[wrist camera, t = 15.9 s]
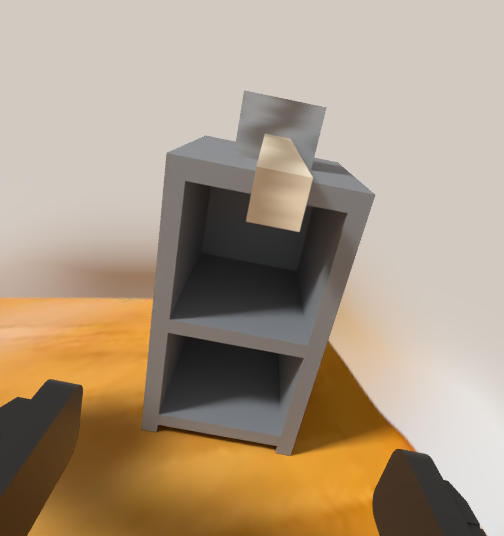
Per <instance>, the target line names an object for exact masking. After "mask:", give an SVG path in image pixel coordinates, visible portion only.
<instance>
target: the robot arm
mask: <svg viewBox="0 0 504 536" xmlns="http://www.w3.org/2000/svg"><path fill="white" fill-rule="evenodd" d="M82 395H83V387H82V385H78V384H73V383H68V382H63V381H57V380H52V379H49V380H48V381H46V382H45V383H44V385H43V386H42V387H41V388H40V389H39V391H38V392H37V393H36V394H35V395H34V397H33V398H32V399H26V398H21V397H17V398H15V399H14V400H12V401H10V402H8V403H7V404H5V405H3V406H2V407H0V536H27V535H28V533H29V531H30V530H31V528H32V526H33V524H34V522H35V521H36V519H37V517H38V515H39V514H40V512H41V510H42V508H43V506H44V505H45V503H46V501H47V499H48V498H49V496H50V494H51V492H52V490H53V489H54V487H55V485H56V483H57V482H58V480H59V478H60V476H61V474H62V473H63V471H64V469H65V467H66V466H67V464H68V462H69V460H70V458H71V456H72V454H73V451H74V448H75V445H76V442H77V438H78V434H79V425H80V415H81V405H82ZM373 515H374V519H375V522H376V525H377V529H378V532H379V535H380V536H486V534H485V532H484V531H483V529H480V524H479V522H478V520H477V519H476V517H475V515H474V513H473V512H472V510H471V508H470V507H469V505H468V503H467V501H466V500H465V499H464V498H463V497H462V496H461V495H460V494H459V493H458V491H457V490H456V489H455V488H454V487H453V486H452V485H451V484H450V483H449V481H446V480H443V478H442V476H441V475H440V473H439V471H438V469H437V467H436V466H435V464H434V462H433V460H432V459H431V457H430V456H428V455H427V454H422V453H417V452H412V451H407V450H402V449H396V450H395V451H394V452H393V453H392V455H391V457H390V459H389V461H388V463H387V465H386V468H385V470H384V472H383V474H382V476H381V478H380V480H379V482H378V484H377V486H376V488H375V491H374V494H373Z"/></svg>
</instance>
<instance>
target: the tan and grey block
mask: <svg viewBox="0 0 504 536" xmlns="http://www.w3.org/2000/svg"><path fill="white" fill-rule="evenodd" d="M325 111H326V107H321V106H316V105H311V104H306V103H302V102H297V101H292V100H287V99H282V98H278V97H273V96H268V95H263V94H258V93H253V92H248V91H244V95H243V101H242V108H241V114H240V120H239V126H238V133H237V139H236V144H235V151H234V155H237V156H242V157H247V158H252V159H257V160H258V162H257V166H256V171H255V176H254V182H253V187H252V192H251V198H250V203H249V208H248V213H247V219H246V222H251V223H256V224H261V225H266V226H271V227H276V228H282V229H287V230H292V231H297V232H300V228H301V224H302V220H303V216H304V212H305V208H306V204H307V200H308V196H309V192H310V188H311V184H312V180H313V177H312V175H311V173H310V172H309V170H311V168H312V164H313V159H314V155H315V151H316V147H317V143H318V139H319V135H320V130H321V127H322V123H323V119H324V115H325Z"/></svg>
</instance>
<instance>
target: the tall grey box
mask: <svg viewBox="0 0 504 536" xmlns="http://www.w3.org/2000/svg"><path fill="white" fill-rule="evenodd" d="M235 144H236V142H234V141H229V140H224V139H219V138H214V137H209V136H204V137H202V138H199V139H197V140H195V141H193V142H190V143H188V144H186V145H184V146H181V147H179V148H177V149H175V150H172V151H170V152H168V153H167V155H166V166H165V177H164V188H163V200H162V210H161V221H160V232H159V243H158V255H157V265H156V276H155V287H154V298H153V309H152V319H151V330H150V341H149V352H148V363H147V374H146V385H145V396H144V407H143V418H142V430H148V431H153V432H157V429H158V426H159V425H162V426H168V427H173V428H179V429H185V430H190V431H196V432H201V433H207V434H213V435H218V436H224V437H229V438H235V439H241V440H246V441H252V442H257V443H263V444H269V445H274V446H276V453H277V454H283V455H288V456H291V452H292V449H293V446H294V443H295V440H296V437H297V434H298V431H299V428H300V425H301V422H302V419H303V416H304V413H305V409H306V406H307V403H308V400H309V397H310V394H311V391H312V388H313V385H314V382H315V379H316V376H317V373H318V369H319V366H320V363H321V360H322V357H323V354H324V351H325V348H326V345H327V342H328V339H329V336H330V333H331V329H332V326H333V323H334V320H335V317H336V314H337V311H338V308H339V305H340V302H341V298H342V296H343V293H344V290H345V286H346V283H347V280H348V277H349V274H350V271H351V268H352V265H353V262H354V259H355V256H356V253H357V249H358V246H359V243H360V240H361V237H362V234H363V231H364V228H365V225H366V222H367V219H368V215H369V212H370V210H371V206H372V203H373V200H374V197H375V194H374V193H373V192H371V191H370V190H369V189H368V188H367V187H365V186H364V185H363V184H362V183H361V182H360V181H359V180H357V179H356V178H355V177H354V176H353V175H352V174H350V173H349V172H348V171H347V170H346V169H345V168H343V167H342V166H341V165H340V164H339V163H338V162H332V161H328V160H322V159H318V158H314V159H313V164H312V168H311V170H309V172H310V173H311V175H312V177H313V180H312V184H311V188H310V192H309V196H308V200H307V204H306V208H305V212H304V216H303V220H302V224H301V228H300V232H297V231H292V230H287V229H282V228H276V227H271V226H266V225H261V224H256V223H251V222H246V219H247V213H248V208H249V203H250V198H251V192H252V187H253V182H254V176H255V171H256V166H257V162H258V160H257V159H252V158H247V157H242V156H237V155H234V151H235Z"/></svg>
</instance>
